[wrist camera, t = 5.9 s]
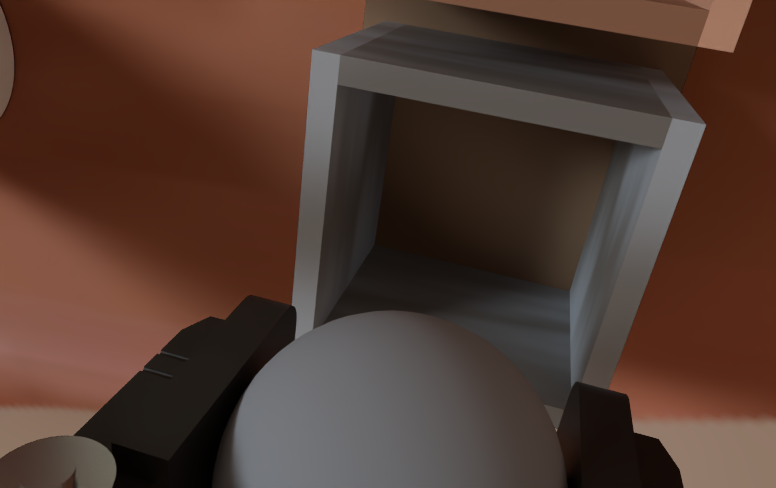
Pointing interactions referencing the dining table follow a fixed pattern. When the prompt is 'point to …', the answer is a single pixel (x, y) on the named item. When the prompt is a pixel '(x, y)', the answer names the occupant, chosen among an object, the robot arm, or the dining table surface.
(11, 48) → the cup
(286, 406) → the ball slate
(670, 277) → the dining table surface
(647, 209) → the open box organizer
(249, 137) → the dining table surface
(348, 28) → the dining table surface
